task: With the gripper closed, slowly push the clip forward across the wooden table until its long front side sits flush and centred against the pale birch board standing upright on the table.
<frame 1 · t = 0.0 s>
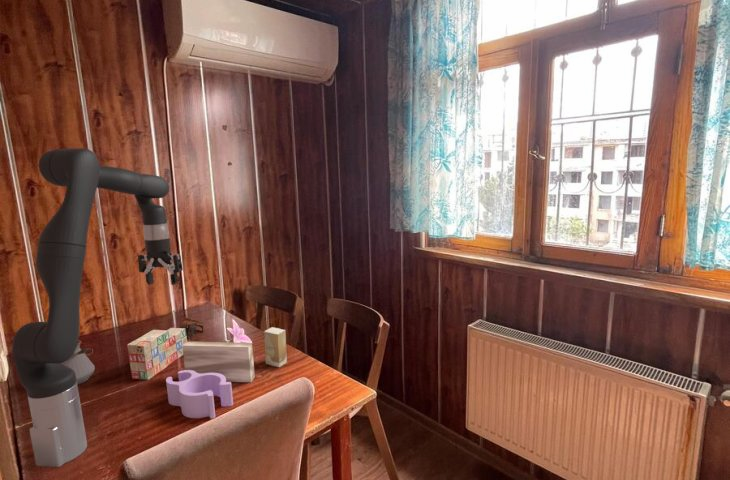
hand: (162, 284, 136), 29 cm above the table, tool pointing down, fingers open, 8 cm apart
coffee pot: (81, 385, 129), on the table
lily: (239, 347, 154), on the table
clip: (199, 403, 117), on the table
skincare box: (276, 363, 140), on the table
board: (220, 378, 130), on the table
stack of blocks: (162, 364, 142), on the table
pottery mug: (191, 335, 166), on the table
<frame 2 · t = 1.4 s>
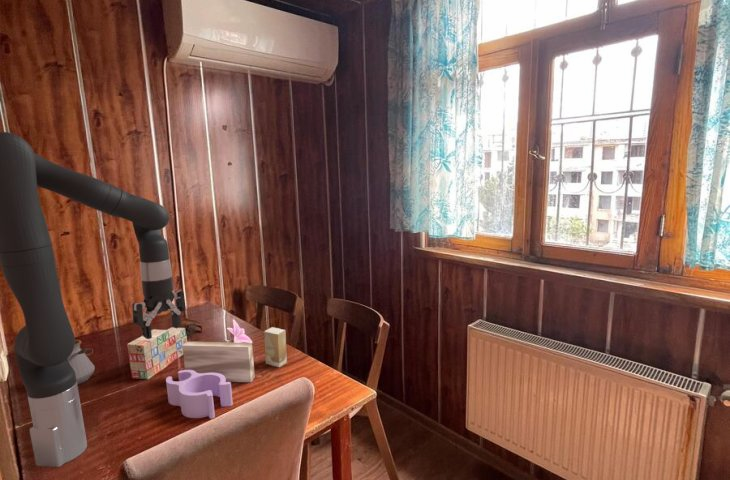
hand: (162, 332, 112), 22 cm above the table, tool pointing down, fingers open, 8 cm apart
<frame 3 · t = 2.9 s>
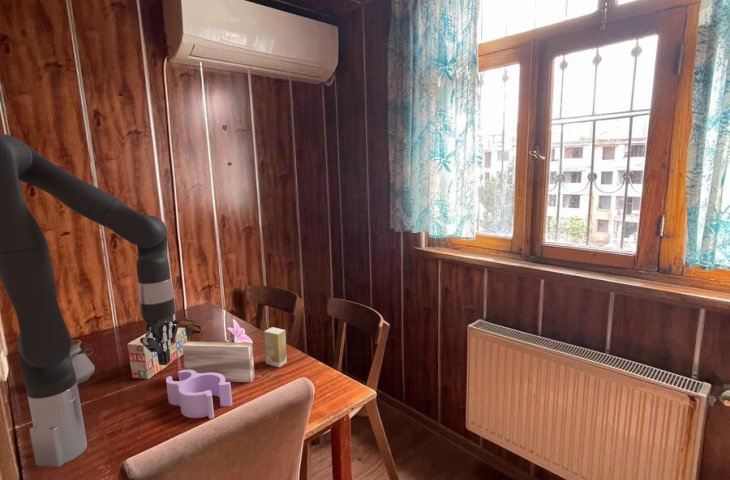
hand: (164, 363, 101), 19 cm above the table, tool pointing down, fingers closed
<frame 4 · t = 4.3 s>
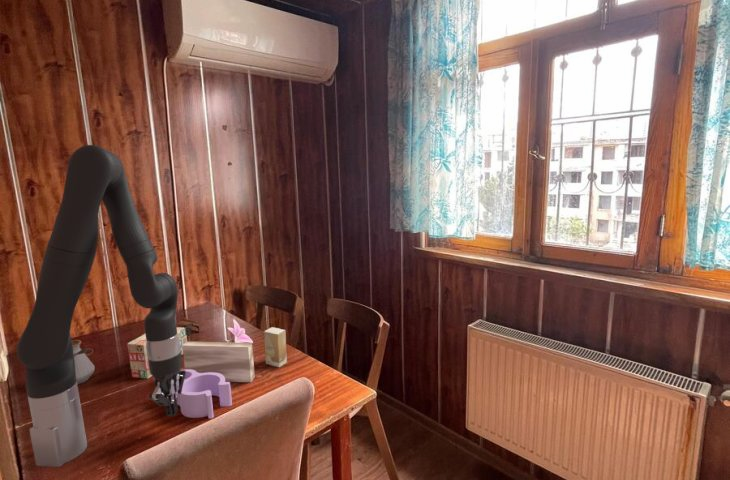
hand: (172, 414, 104), 4 cm above the table, tool pointing down, fingers closed
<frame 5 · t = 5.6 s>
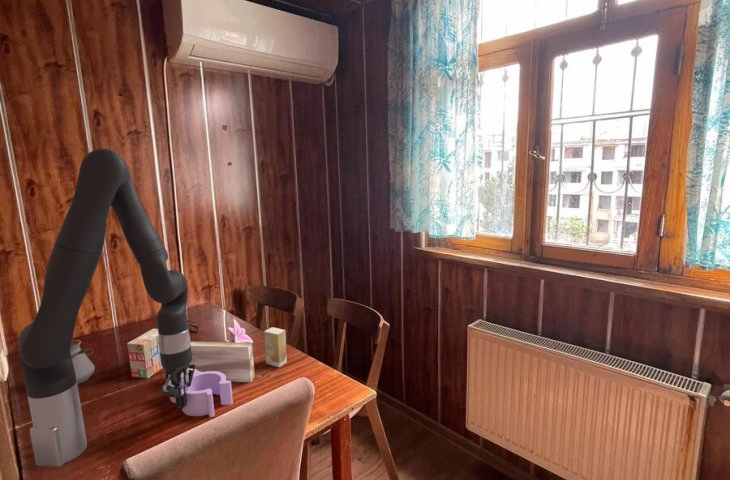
hand: (182, 406, 108), 4 cm above the table, tool pointing down, fingers closed
clip: (199, 402, 118), on the table, touching gripper
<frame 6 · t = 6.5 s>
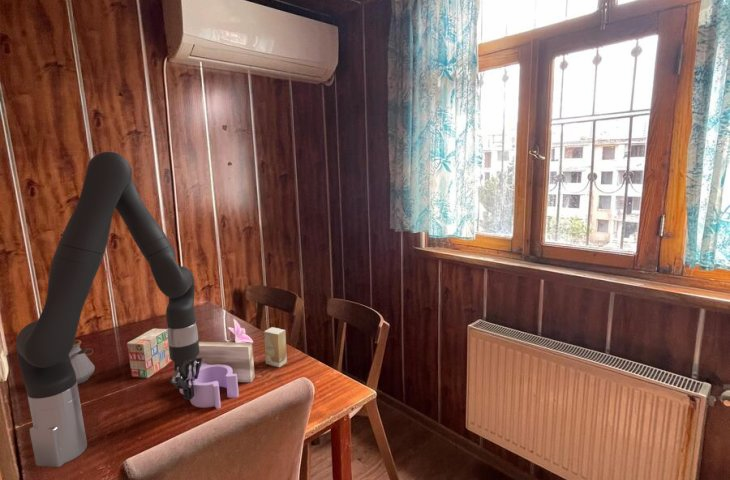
hand: (189, 398, 112), 4 cm above the table, tool pointing down, fingers closed
clip: (207, 393, 122), on the table, touching board, gripper
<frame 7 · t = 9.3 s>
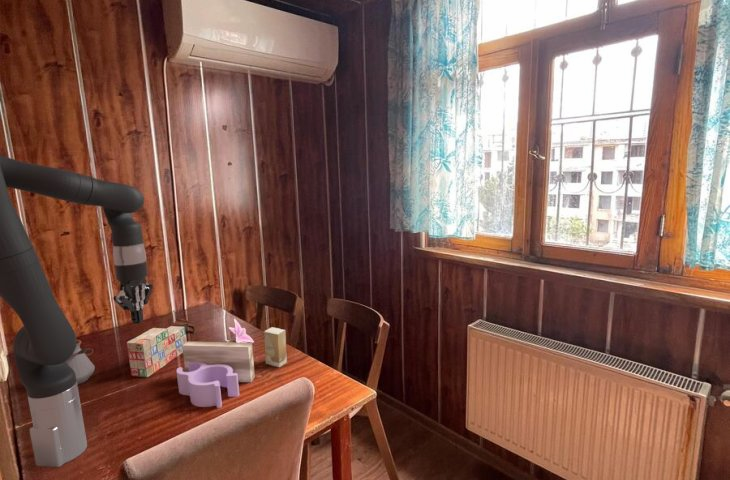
hand: (138, 322, 110), 26 cm above the table, tool pointing down, fingers closed
clip: (207, 393, 122), on the table
pottery mug: (182, 336, 166), on the table
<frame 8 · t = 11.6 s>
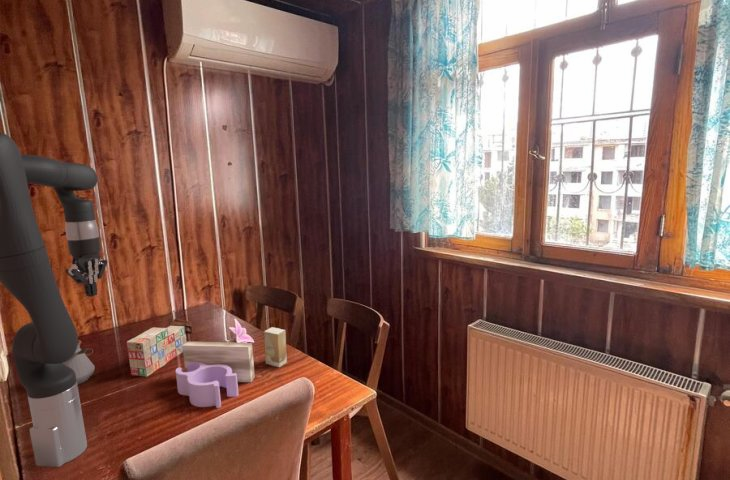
hand: (92, 295, 116), 32 cm above the table, tool pointing down, fingers closed
at the end: clip 0.6 cm from the target spot on the table beside the board, on the table; clip tilted 0° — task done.
